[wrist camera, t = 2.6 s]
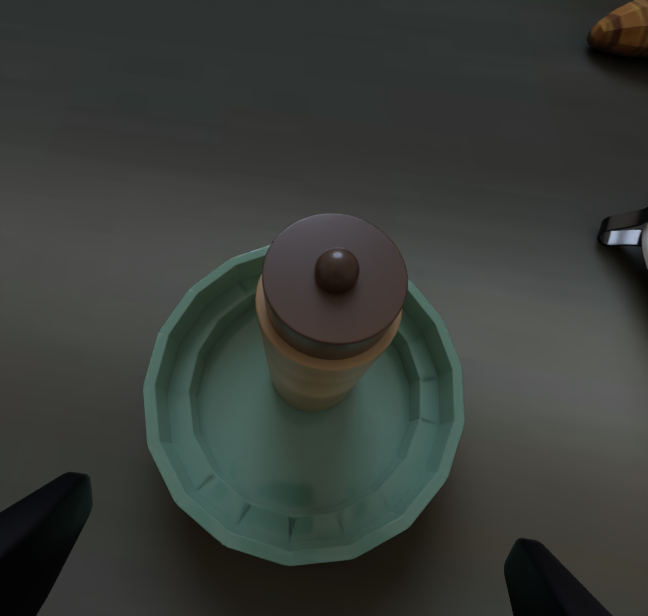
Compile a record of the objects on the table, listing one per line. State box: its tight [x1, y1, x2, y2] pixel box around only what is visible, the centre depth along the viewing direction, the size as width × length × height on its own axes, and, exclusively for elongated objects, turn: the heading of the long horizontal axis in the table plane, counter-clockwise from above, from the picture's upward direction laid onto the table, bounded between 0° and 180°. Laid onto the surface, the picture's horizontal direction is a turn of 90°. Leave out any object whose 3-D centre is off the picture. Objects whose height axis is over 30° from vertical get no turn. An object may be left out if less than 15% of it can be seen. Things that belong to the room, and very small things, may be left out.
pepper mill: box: [255, 213, 408, 412], centre depth 15 cm, size 5×5×12 cm
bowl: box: [143, 245, 465, 566], centre depth 19 cm, size 14×14×4 cm
